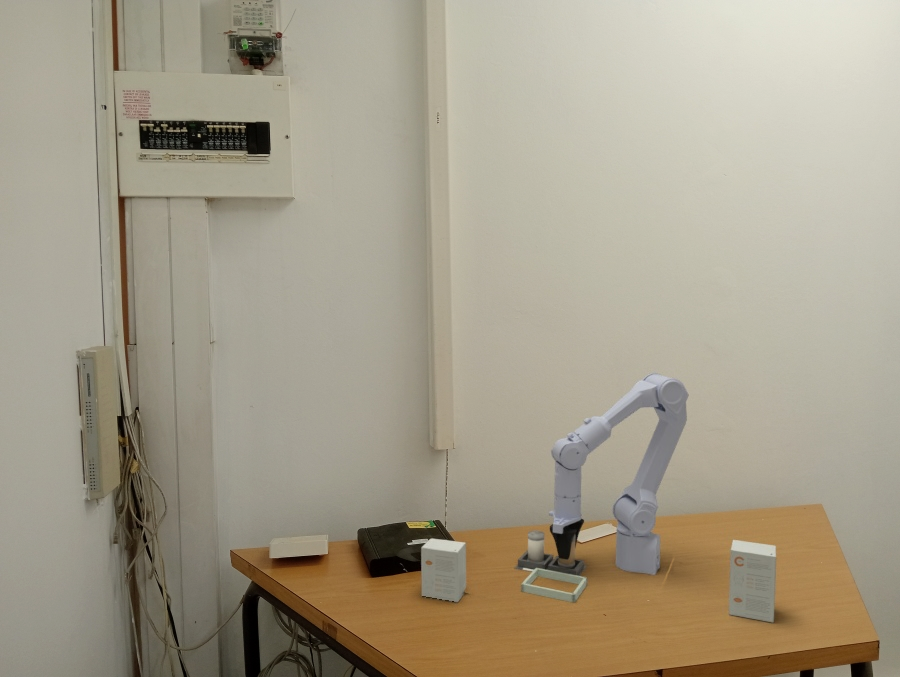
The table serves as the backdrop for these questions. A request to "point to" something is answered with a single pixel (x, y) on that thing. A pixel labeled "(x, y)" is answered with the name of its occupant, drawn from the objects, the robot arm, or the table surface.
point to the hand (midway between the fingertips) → (566, 555)
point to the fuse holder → (549, 565)
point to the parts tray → (551, 592)
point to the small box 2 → (752, 580)
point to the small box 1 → (443, 569)
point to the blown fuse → (571, 561)
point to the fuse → (536, 546)
